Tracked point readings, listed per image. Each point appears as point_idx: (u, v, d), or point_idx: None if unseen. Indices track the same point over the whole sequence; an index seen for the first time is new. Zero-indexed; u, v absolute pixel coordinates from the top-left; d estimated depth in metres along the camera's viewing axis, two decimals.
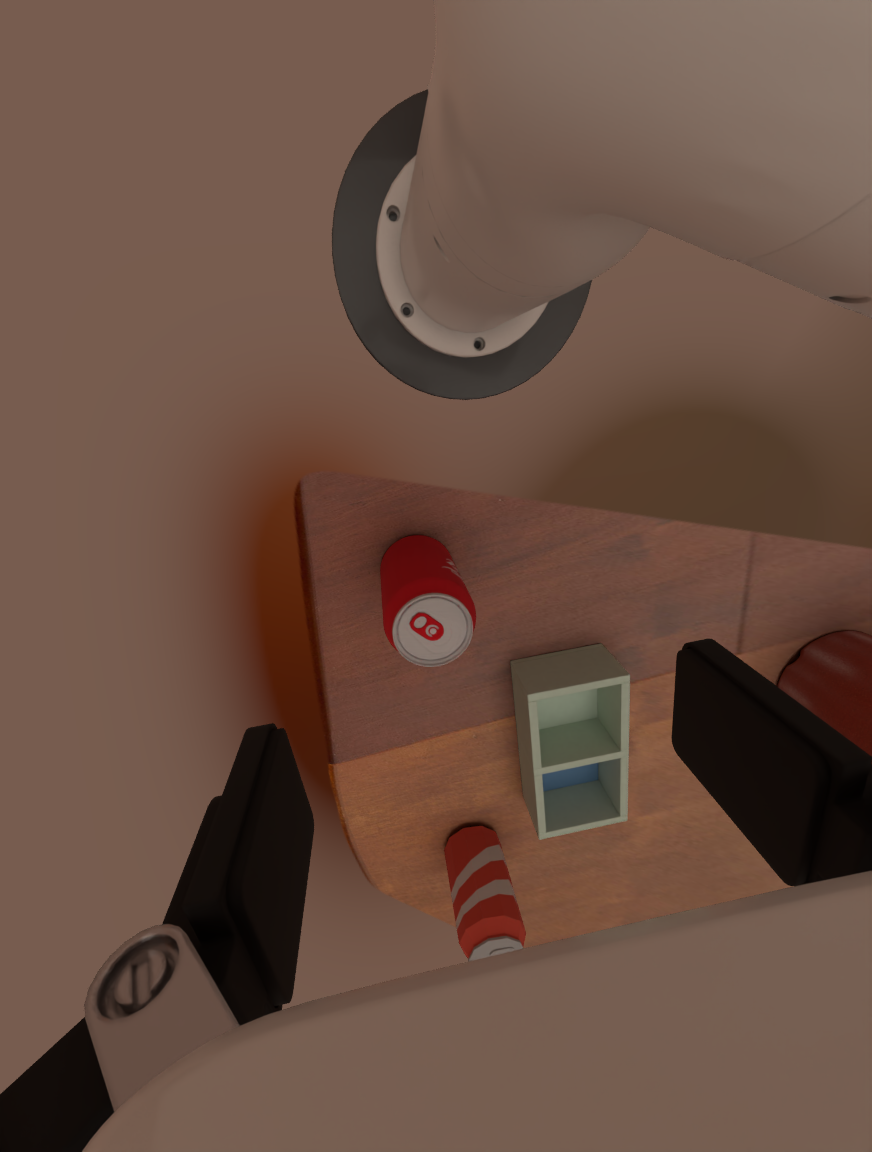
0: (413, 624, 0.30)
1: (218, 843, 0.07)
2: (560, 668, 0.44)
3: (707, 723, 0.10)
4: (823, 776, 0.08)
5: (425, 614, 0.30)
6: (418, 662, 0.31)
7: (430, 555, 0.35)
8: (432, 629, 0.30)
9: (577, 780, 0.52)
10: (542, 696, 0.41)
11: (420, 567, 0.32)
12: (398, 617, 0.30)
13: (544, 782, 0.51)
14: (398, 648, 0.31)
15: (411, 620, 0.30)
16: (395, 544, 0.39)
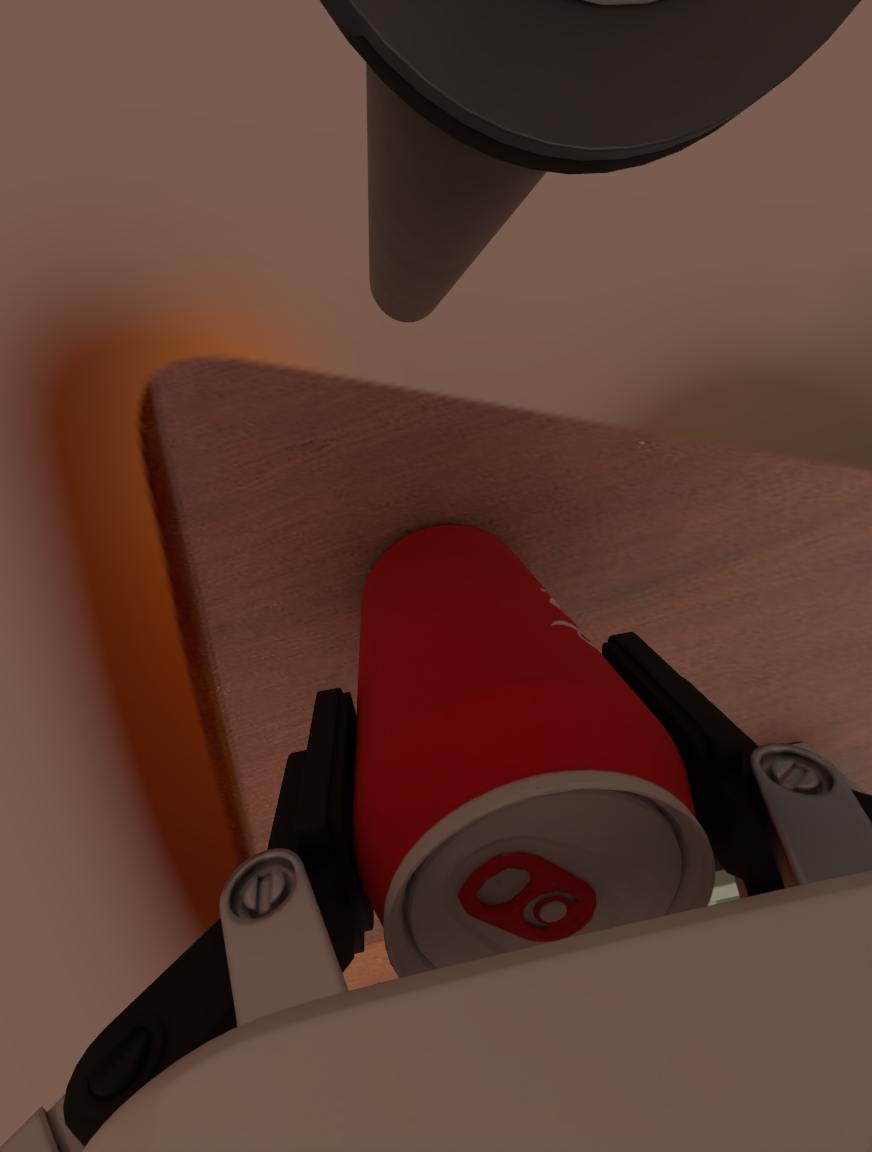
0: (474, 896, 0.07)
1: (314, 783, 0.08)
2: None
3: None
4: (704, 754, 0.08)
5: (527, 855, 0.07)
6: None
7: (500, 579, 0.12)
8: (553, 906, 0.07)
9: None
10: (729, 893, 0.18)
11: (482, 629, 0.09)
12: None
13: None
14: None
15: (469, 885, 0.07)
16: (397, 547, 0.16)
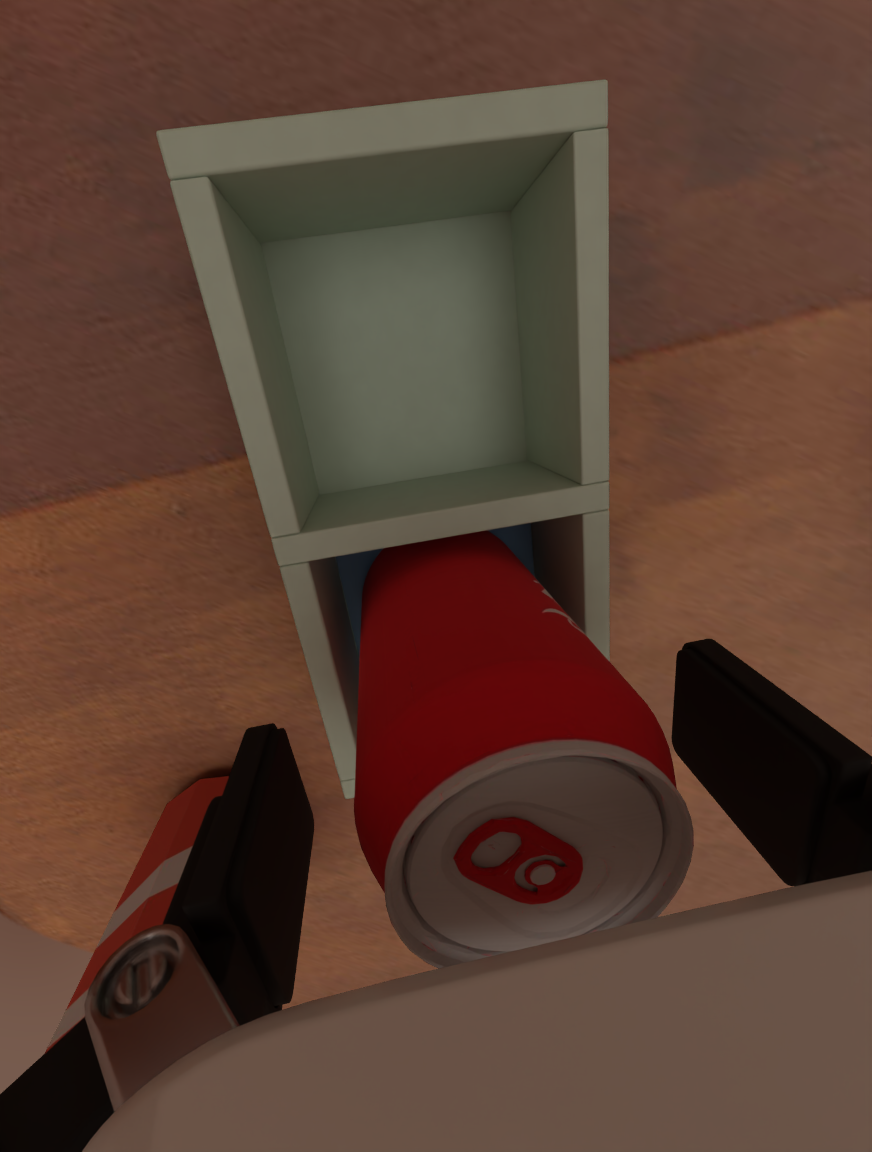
0: (468, 859, 0.07)
1: (218, 843, 0.07)
2: None
3: (707, 723, 0.10)
4: (823, 776, 0.07)
5: (517, 821, 0.07)
6: None
7: (495, 571, 0.12)
8: (542, 870, 0.08)
9: None
10: (226, 152, 0.10)
11: (477, 616, 0.10)
12: None
13: None
14: (408, 936, 0.08)
15: (464, 846, 0.07)
16: None
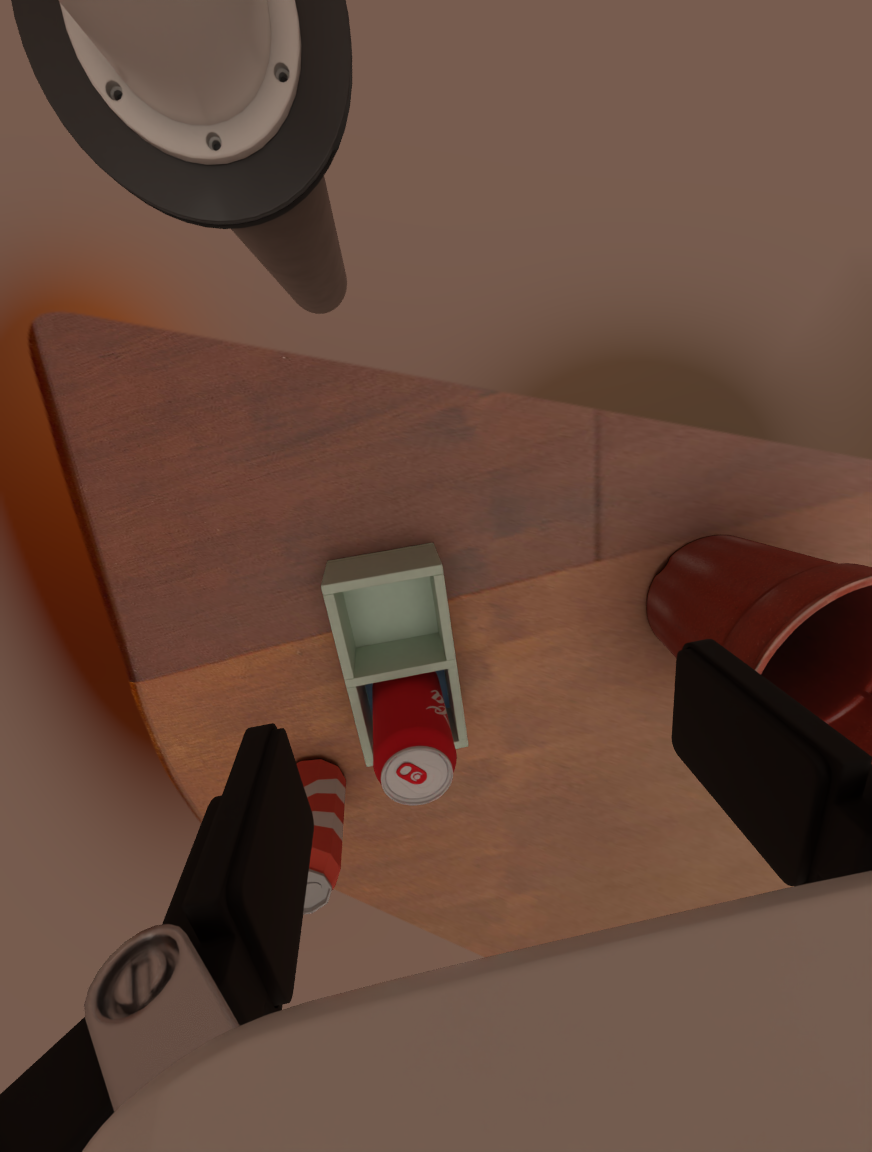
0: (399, 772, 0.34)
1: (218, 843, 0.07)
2: (372, 563, 0.38)
3: (707, 723, 0.10)
4: (823, 776, 0.07)
5: (410, 763, 0.34)
6: (404, 801, 0.35)
7: (416, 690, 0.39)
8: (416, 775, 0.34)
9: None
10: (338, 589, 0.36)
11: (406, 711, 0.36)
12: (386, 766, 0.34)
13: None
14: (386, 791, 0.34)
15: (398, 769, 0.34)
16: None
